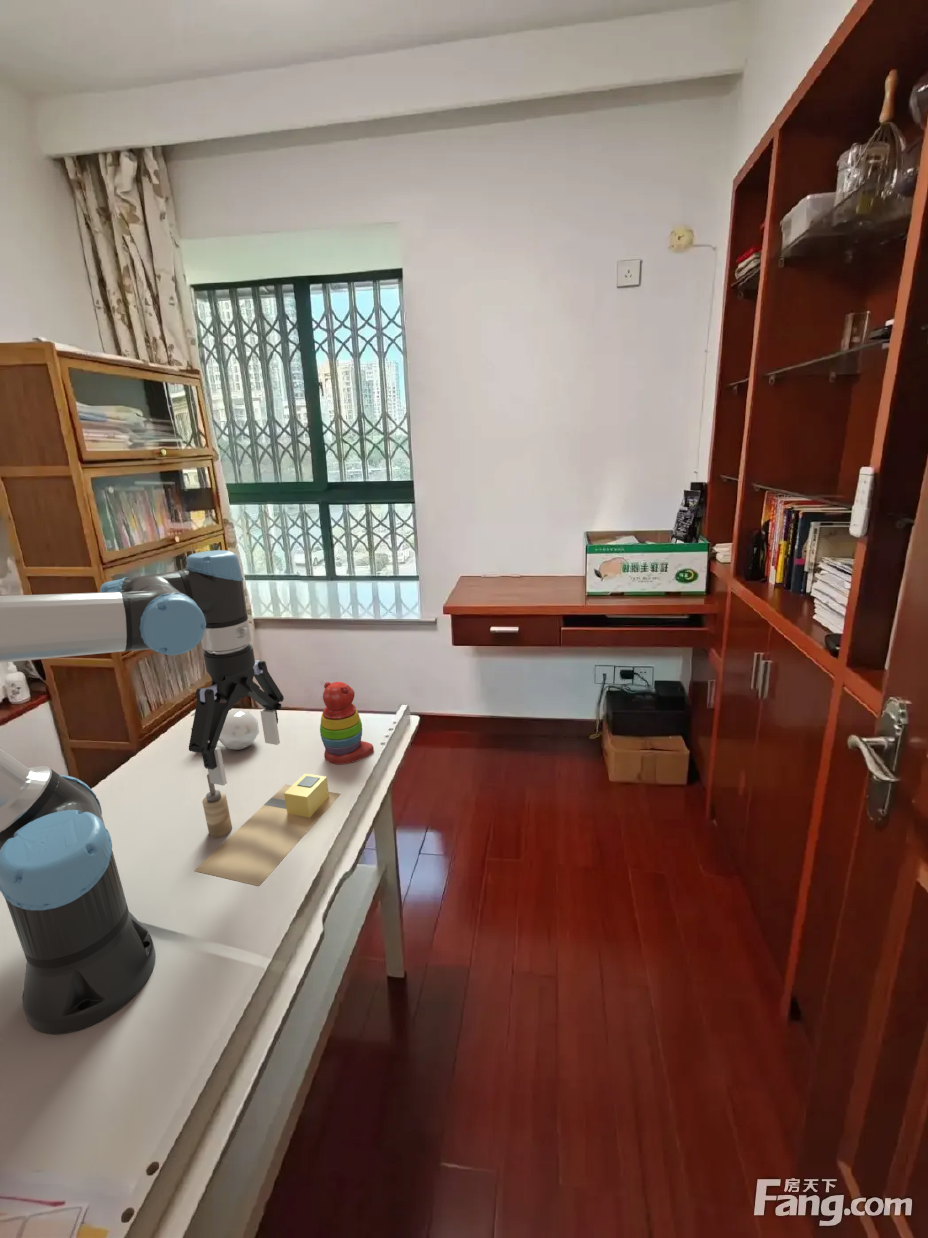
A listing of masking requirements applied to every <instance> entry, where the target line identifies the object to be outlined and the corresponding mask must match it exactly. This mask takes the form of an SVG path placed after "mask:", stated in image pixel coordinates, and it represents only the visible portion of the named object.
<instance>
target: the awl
mask: <svg viewBox="0 0 928 1238" xmlns="http://www.w3.org/2000/svg"><path fill="white" fill-rule="evenodd" d="M206 779H207V783H208V789H209V792H207V794H206V795H205V797H203V799H202V801H201V802H202V807H203V811H204V816H205V817H204V818H205V821H206V825H207V831H208V835H209V836H210V837H211V838H214V839H215V838H223V837H224V836H227V835H228V834H230V833H231V831H232V830H233V824H232V819H231V814H230V809H229V805H228V799H227V798H228V797H227V794H226V793H224V792H221V790H219V789H216V788H215V784H214V783H210V778H209V773H207V775H206Z"/></svg>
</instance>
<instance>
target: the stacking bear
mask: <svg viewBox="0 0 928 1238" xmlns="http://www.w3.org/2000/svg"><path fill="white" fill-rule="evenodd" d="M323 688H324V690H323V692H322V699H323V702H324V703H323V704H324V706H325V707H324V709H323V711H322V713H321V715H320V716H321V718H320V724H319V732H320V737H321V738H320V739H321V742H322V744H323V746H324V754H323V755H324V756H323V757H324V759H325V761H327V763H329V764H334V765H346V764H351V763H355V762H358V761H360V760H362V759H365V758H366V757H368V756H369V755H371V754H372V753H373V752H374V750H375V748H374V745H373V744H372V743H370V742H367V741H364V740H362V736H363V723H362V719H361V718H360V714H359V712H358V710H357V708H356V705H354V704H353V702H354V699H355V693H356V692H355V690H354V689H353V688H352V687H351V686H349V684H348V683H345V682H342V681H334V682H332V683H331V682H329V681H326V682H325V683H324V685H323Z"/></svg>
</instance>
